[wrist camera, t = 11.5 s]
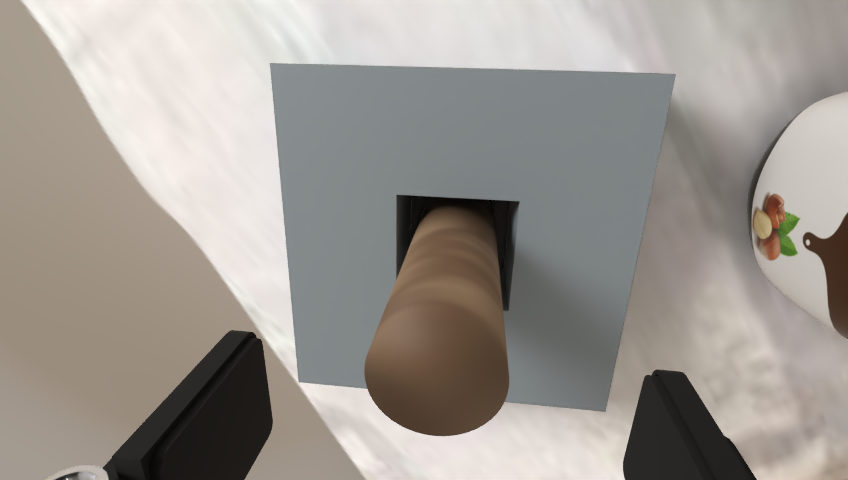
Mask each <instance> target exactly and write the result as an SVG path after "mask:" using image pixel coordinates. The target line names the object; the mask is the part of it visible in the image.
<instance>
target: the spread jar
mask: <svg viewBox="0 0 848 480" xmlns="http://www.w3.org/2000/svg"><path fill="white" fill-rule="evenodd" d="M747 215H748V226H749V234H750V240H751V244H752V248H753V251H754V254H755V257H756V260H757V263H758V265H759V267H760V269H761V270H762V272H763V273H764V275H765V276H766V278H767V279H768V280H769V281H770V282H771V283H772V284H773V285H774V286H775V287H776V288H777V289H778V290H779V291H780V292H781V293H782V294H783V295H785V296H786V297H787V298H788V299H789V300H791V301H792V302H793V303H795V304H796V305H797V306H799V307H800V308H801V309H803V310H804V311H805V312H807V313H808V314H809V315H811V316H812V317H813V318H815V319H816V320H818V321H819V322H821V323H822V324H824V325H825V326H827V327H828V328H830V329H831V330H833V331H834V332H836V333H838V334H840V335H841V336H843V337H845V338H847V339H848V92H844V93H840V94H837V95H833V96H830V97H827V98H824V99H822V100H820V101H818V102H816V103H814V104H812V105H811V106H809V107H808V108H806V109H804V110H803V111H802V112H801V113H799V114H798V115H797V116H795V117H794V118H793V119H792V120H791V121H790V122H789V123H788V124H787V125H786V126H785V127H784V128H783V129H782V131H781V132H780V133H779V134H778V136H777V137H776V138H775V139H774V141H773V142H772V143H771V145H770V146H769V148H768V149H767V151H766V152H765V154H764V155H763V157H762V159H761V161H760V163H759V165H758V167H757V169H756V171H755V174H754V176H753V179H752V182H751V186H750V190H749V195H748V204H747Z"/></svg>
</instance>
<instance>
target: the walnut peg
mask: <svg viewBox="0 0 848 480" xmlns="http://www.w3.org/2000/svg"><path fill="white" fill-rule="evenodd" d="M364 375H365V382H366V386H367V389H368V391H369V393H370V396H371V397H372V399H373V401H374V402H375V404H376V405H377V406H378V408H379V409H380V410H381V411H382V412H383V413H384V414H385V415H386V416H388V417H389V418H390V419H391V420H393V421H394V422H396V423H397V424H399V425H401V426H403V427H405V428H407V429H409V430H412V431H415V432H418V433H422V434H426V435H433V436H452V435H458V434H463V433H466V432H470V431H472V430H475V429H477V428H479V427H480V426H482V425H484V424H485V423H487V422H488V421H489V420H491V419H492V418H493V417H494V416H495V415H496V414H497V413H498V411H499V410H500V409H501V407H502V405H503V404H504V402H505V399H506V397H507V394H508V389H509V368H508V357H507V347H506V336H505V326H504V315H503V304H502V294H501V283H500V273H499V262H498V252H497V241H496V230H495V220H494V212H493V209H492V206H491V204H490V203H489V201H488V200H486V199H468V198H449V197H431V198H430V199H429V201H428V202H427V204H426V206H425V209H424V211H423V214H422V216H421V219H420V221H419V224H418V226H417V229H416V231H415V234H414V237H413V239H412V242H411V244H410V247H409V249H408V252H407V254H406V257H405V259H404V262H403V264H402V267H401V270H400V272H399V275H398V277H397V280H396V282H395V285H394V287H393V290H392V292H391V295H390V297H389V300H388V303H387V305H386V308H385V310H384V313H383V315H382V318H381V320H380V323H379V325H378V328H377V331H376V333H375V336H374V338H373V341H372V343H371V346H370V348H369V351H368V353H367V356H366V360H365V367H364Z"/></svg>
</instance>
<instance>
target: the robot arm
mask: <svg viewBox="0 0 848 480" xmlns="http://www.w3.org/2000/svg"><path fill="white" fill-rule="evenodd" d="M272 423H273V419H272V412H271V404H270V396H269V390H268V382H267V375H266V366H265V359H264V351H263V345H262V341H261V339H258V338H256V335H255V334H254V333H253V332H245V331H233V330H232V331H229V332H228V333H227V334H226V335H225V336H224V337H223V338H222V339H221V340H220V341H219V342H218V343H217V344H216V345H215V346H214V348H213V349H212V350H211V351H210V352H209V353H208V354H207V355H206V356H205V357H204V358H203V359H202V360H201V361H200V363H199V364H198V365H197V366H196V367H195V368H194V369H193V370H192V371H191V372H190V373H189V374H188V375H187V377H186V378H185V379H184V380H183V381H182V382H181V383H180V384H179V385H178V386H177V387H176V388H175V389H174V390H173V392H172V393H171V394H170V395H169V396H168V397H167V398H166V399H165V400H164V401H163V402H162V403H161V404H160V405H159V407H158V408H157V409H156V410H155V411H154V412H153V413H152V414H151V415H150V416H149V417H148V418H147V419H146V421H145V422H144V423H143V424H142V425H141V426H140V427H139V428H138V429H137V430H136V431H135V432H134V433H133V434H132V436H131V437H130V438H129V439H128V440H127V441H126V442H125V443H124V444H123V445H122V446H121V447H120V449H119V450H118V451H117V452H116V453H115V454H114V455H113V456H112V459H111V460H110V461H109V462H108V463H107V464H106V465H105V466H104V467H103V468H101V467H98V466H94V465H81V466H76V467H72V468H68V469H65V470H63V471H60V472H58V473H56V474H54V475H51V476H49V477H48V478H46V479H45V480H244V479H245V478H246V476H247V474H248V472H249V471H250V469H251V467H252V465H253V464H254V462H255V460H256V458H257V456H258V455H259V453H260V451H261V449H262V448H263V446H264V444H265V442H266V440H267V439H268V437H269V435H270V433H271V430H272ZM623 472H624V477H625V480H757V479H756V478H755V476H754V475H753V473H752V472H751V470H750V468H749V467H748V465H747V464H746V462H745V461H744V459H743V458H742V456H741V454H740V453H739V451H738V450H737V448H736V447H735V445H734V444H733V443H732V441H731V440H730V439H728V438H727V437H725V436H724V435H723V433H722V432H721V430H720V429H719V427H718V426H717V424H716V422H715V421H714V419H713V418H712V416H711V414H710V413H709V411H708V410H707V408H706V406H705V405H704V403H703V402H702V400H701V399H700V397H699V395H698V394H697V392H696V391H695V389H694V387H693V386H692V384H691V383H690V381H689V380H688V378H687V376H686V375H685V374H684V373H683V372H677V371H667V370H655V371H654V372H653V373H652V375H646V376H645V378H644V381H643V385H642V389H641V393H640V397H639V401H638V404H637V408H636V412H635V416H634V420H633V424H632V428H631V432H630V436H629V440H628V444H627V448H626V452H625V456H624V461H623Z"/></svg>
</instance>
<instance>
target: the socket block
mask: <svg viewBox="0 0 848 480" xmlns="http://www.w3.org/2000/svg"><path fill="white" fill-rule="evenodd" d="M270 69H271V80H272V91H273V102H274V113H275V124H276V135H277V146H278V157H279V168H280V180H281V191H282V202H283V213H284V224H285V235H286V246H287V257H288V268H289V280H290V291H291V302H292V313H293V324H294V335H295V346H296V357H297V368H298V379H299V382H303V383H314V384H324V385H335V386H345V387H355V388H366V389H367V386H366V382H365V375H364V367H365V360H366V356H367V353H368V351H369V348H370V346H371V343H372V341H373V338H374V336H375V333H376V331H377V328H378V325H379V323H380V320H381V318H382V315H383V313H384V310H385V308H386V305H387V303H388V300H389V297H390V295H391V292H392V290H393V287H394V285H395V282H396V280H397V277H398V275H399V272H400V270H401V267H402V264H403V262H404V259H405V257H406V254H407V252H408V249H409V247H410V244H411V202H412V196H431V197H449V198H468V199H486V200H505V201H510V204H509V215H508V225H507V236H506V246H505V257H504V267H503V268H499V273H500V283H501V294H502V304H503V315H504V326H505V336H506V347H507V357H508V368H509V389H508V394H507V397H506V399H505V402H511V403H521V404H532V405H542V406H553V407H563V408H573V409H584V410H594V411H604V412H605V411H606V406H607V401H608V397H609V392H610V387H611V382H612V377H613V373H614V368H615V363H616V358H617V354H618V349H619V344H620V339H621V334H622V330H623V325H624V320H625V315H626V310H627V306H628V301H629V296H630V291H631V286H632V282H633V277H634V272H635V267H636V262H637V258H638V253H639V248H640V243H641V239H642V234H643V229H644V224H645V219H646V215H647V210H648V205H649V200H650V195H651V191H652V186H653V181H654V176H655V171H656V167H657V162H658V157H659V152H660V148H661V143H662V138H663V133H664V128H665V124H666V119H667V114H668V109H669V104H670V100H671V95H672V90H673V85H674V80H675V76H676V74H660V73H628V72H590V71H552V70H513V69H475V68H437V67H399V66H361V65H323V64H278V63H270Z"/></svg>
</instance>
